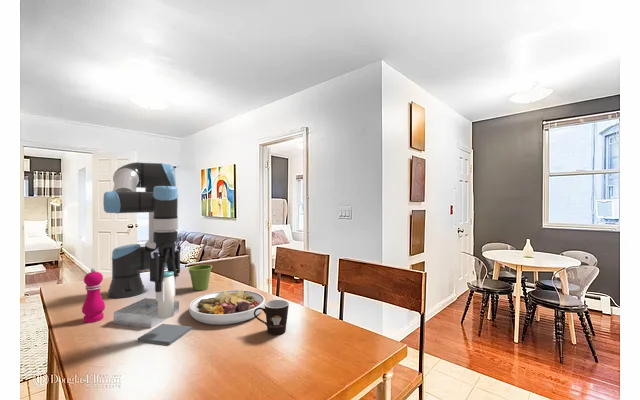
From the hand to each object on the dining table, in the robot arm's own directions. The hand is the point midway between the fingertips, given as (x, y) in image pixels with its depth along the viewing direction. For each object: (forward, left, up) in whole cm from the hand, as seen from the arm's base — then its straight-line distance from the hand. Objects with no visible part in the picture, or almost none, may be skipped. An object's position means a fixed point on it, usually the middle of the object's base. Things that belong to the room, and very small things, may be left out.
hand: (165, 297), depth 108 cm
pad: (0, 0, -13) cm, 13 cm away
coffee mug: (-11, +35, -13) cm, 39 cm away
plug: (0, 0, -6) cm, 6 cm away
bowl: (-24, +11, -14) cm, 30 cm away
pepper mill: (-6, -36, -13) cm, 39 cm away
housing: (-12, -17, -13) cm, 25 cm away
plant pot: (-50, -18, -13) cm, 55 cm away
